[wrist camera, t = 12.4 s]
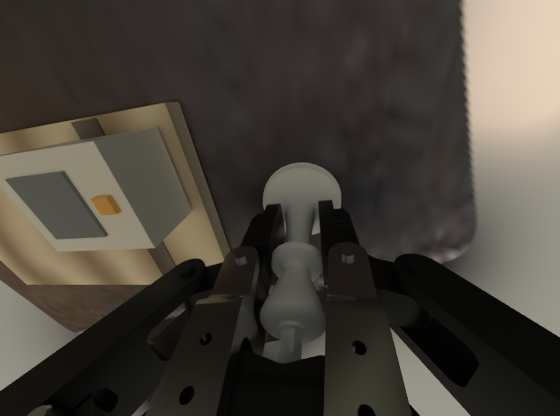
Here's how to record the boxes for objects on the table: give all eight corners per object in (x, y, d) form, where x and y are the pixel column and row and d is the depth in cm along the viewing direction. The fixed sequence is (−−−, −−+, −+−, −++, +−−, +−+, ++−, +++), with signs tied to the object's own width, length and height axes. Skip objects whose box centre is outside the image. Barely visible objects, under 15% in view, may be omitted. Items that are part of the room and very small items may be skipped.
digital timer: (157, 127, 10) (86, 142, 7) (191, 211, 13) (151, 251, 9) (65, 142, 11) (-33, 161, 8) (113, 217, 14) (52, 255, 10)
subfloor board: (178, 102, 11) (163, 102, 10) (238, 273, 17) (233, 285, 16) (-85, 150, 15) (-118, 155, 14) (40, 275, 21) (25, 285, 20)
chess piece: (320, 146, 11) (360, 333, 2) (353, 214, 13) (442, 459, 4) (249, 184, 13) (123, 374, 4) (286, 240, 15) (255, 452, 6)
